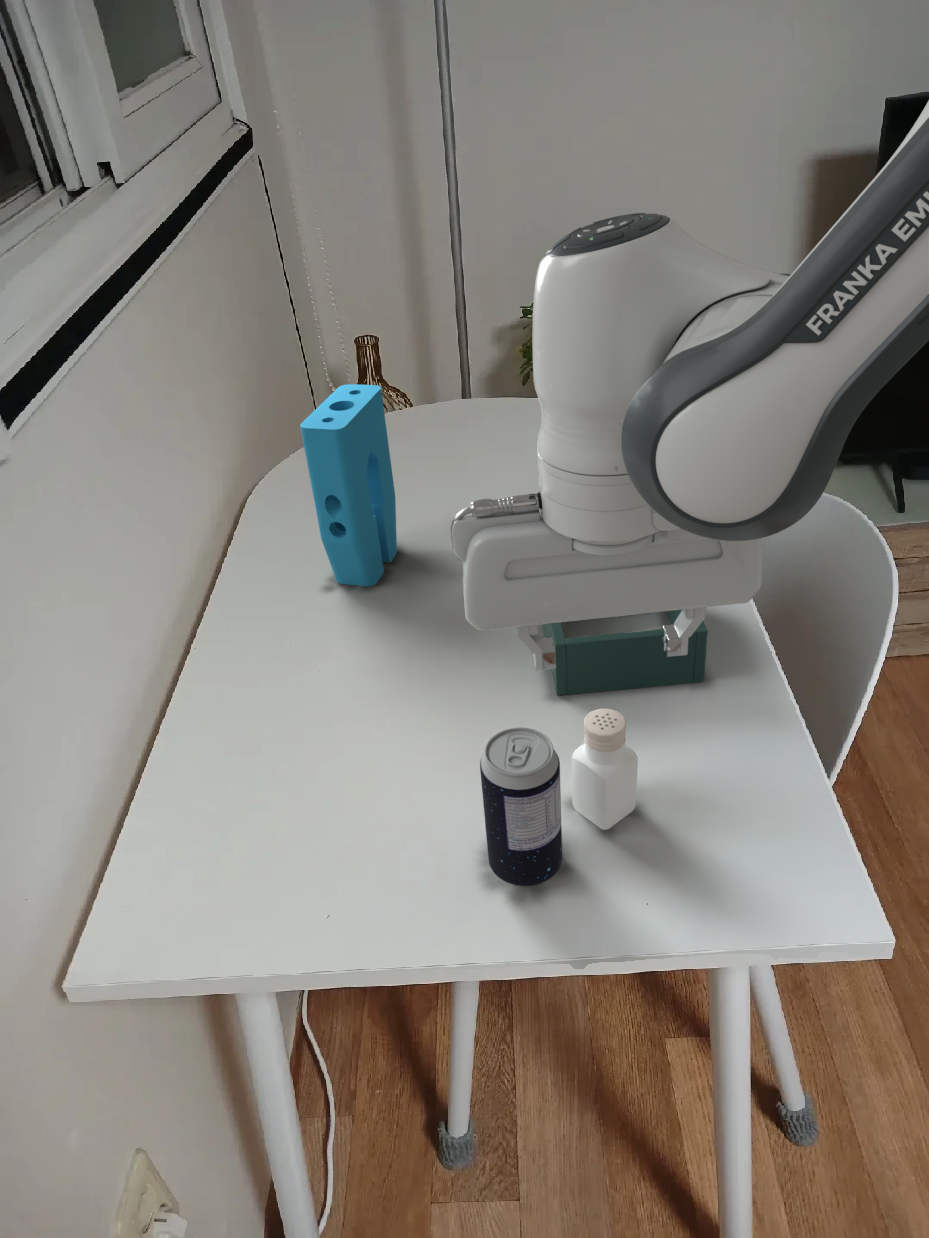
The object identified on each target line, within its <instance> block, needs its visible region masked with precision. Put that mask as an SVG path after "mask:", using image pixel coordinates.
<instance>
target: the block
mask: <svg viewBox="0 0 929 1238" xmlns="http://www.w3.org/2000/svg"><path fill="white" fill-rule="evenodd" d="M382 392H383V391H382V387H381V386H380V385H377V384H356V383H348V384H342V385H340V386H338V387H337V388H336V389H335V390H334V391H333V392H332V393H331V394H330V395H329V396H328V397H327V398H326V399H324V401H322V403H321V404H319V406H317V407H316V409H314V410H313V411H312V412H311V413H310V414H309V415H308V416H307V417H306V418H305V419H304V420H303V421H302V422H301V423H300V425H299V427H300V432H301V437H302V438H301V439H302V443H303V449H304V455H305V459H306V464H307V470H308V475H309V480H310V481H309V482H310V486H311V491H312V496H313V503H314V507H315V512H316V518H317V523H318V528H319V535H320V540H321V542H322V545H323V548H324V551H325V553H326V556H327V558H328V561H329V564H330V567H331V569H332V572H333V575H334V578H335V580H336V582H337V583H338V584H341V585H348V586H357V587H373V586H375V585H377V583H379V580H380V579H381V578H382V576H383V575H384V572H385V570H384V563H391V562H392V561H393V559H394V558H395V556H396V555H397V552H398V551H397V550H398V548H397V547H398V546H397V508H396V507H397V506H396V504H397V503H396V491H395V482H394V475H393V468H392V461H391V460H392V459H391V453H390V447H389V437H388V431H387V424H386V414H385V409H384V399H383V393H382Z"/></svg>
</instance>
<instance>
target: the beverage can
mask: <svg viewBox="0 0 929 1238" xmlns="http://www.w3.org/2000/svg"><path fill="white" fill-rule="evenodd" d="M479 769H480V771H479V772H480V780H481V782H480V783H481V791H482V804H483V815H484V824H485V835H486V846H487V856H488V857H487V859H488V864H489V868H490V869H491V871H492V872H493V873H494V875H495V876H496V877H497V878H499V879H500V880H502V881H503V882H505V883H508V884H510V885H514V886H518V887H519V886H520V887H531V886H536V885H540V884H543V883H545V882H547V881H549V880H550V879H551V878H553V877H554V876H555V875H556V874H557V872H558V871H559V869H560V868H561V865H562V863H563V835H562V834H563V832H562V831H563V830H562V829H563V828H562V799H561V792H562V791H561V763H560V758H559V755H558V753H557V751H556V750H555V748H554V744H553V742H552V741H551V739H550V738H549V737H548V736H547V735H546V734H545V733H543V732H541V731H539V730H537V729H534V728H528V727H510V728H506V729H503V730H501V731H498V732H497V733H495V734H494V735H493V736H492V737H490V738H489V740H488V741H487V743H486V744H485V747H484V753H483V754H482V756H481V759H480V761H479Z"/></svg>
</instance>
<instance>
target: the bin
mask: <svg viewBox="0 0 929 1238" xmlns="http://www.w3.org/2000/svg"><path fill="white" fill-rule="evenodd" d="M681 611H682V610H673V611H664V613H665V615H666V618H667V620H668V624H669V625H672V624H674V622H675V621H676V619H677V618H678V616H679V615H680V613H681ZM541 625H542V630H543V634H544V635H543V636H544V638H550V637H552V638H553V643H554V647H555V654H556V659H555V661H556V669H550V671H551V674H552V679H553V685H554V689H555V695H556V696H558V697H559V696H567V695H576V694H588V693H598V692H609V691H610V692H611V691H621V690H631V689H642V688H651V687H663V686H664V687H665V686H676V685H686V684H699V683H700V684H701V683H704V681H705V669H706V660H707V647H708V635H709V630H708V628H707V625H706V624H705V620H703V621H702V623H701V624H700V625H699V627H698V628H697V629H696V630H695V632H694V633H693V634H692V636H691V637H688V654H687V655H683V656H671V657H666V654H665V651H664V649H663V644H662V638H663V637H664V636H663V633H662V630H663V628H660V629H648V630H639V631H627V632H617V633H605V634H597V635H596V634H595V635H593V634H592V635H584V636H575V637H574V636H573V637H565V634H564V629H563V623H562V622H559V623H550V624H541Z"/></svg>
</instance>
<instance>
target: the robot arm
mask: <svg viewBox="0 0 929 1238" xmlns="http://www.w3.org/2000/svg"><path fill="white" fill-rule="evenodd" d="M531 331H532V332H531V333H532V335H531V336H532V337H531V338H532V339H531V343H532V347H531V348H532V376H533V387H534V390H535V392H536V395H537V398H538V401H539V405H540V409H541V422H540V427H539V431H538V435H537V443H536V449H537V450H536V451H537V452H536V453H537V468H538V469H537V470H538V488H539V491H538V492H536V493H528V494H518V495H513V496H508V497H503V498H497V499H491V498H481V499H477V500H473V501H471V502H470V506H467V507H465V508H463V509H462V510H460V511H459V512H458V513H456V515H455V516H454V517H453V519H452V521H451V524H450V536H451V537H450V538H451V548H452V550H453V553H454V554H455V556H456V557H457V558H458V559H459V560H460V561H462V590H463V591H462V592H463V607H464V617H465V620H466V621H467V622H468V623H469V624H470V625H471V626H472V627H473V628H475V629H476V630H478V631H491V630H500V629H501V630H502V629H510V628H516V629H517V630H516V631H517V635H518V638H519V640H521V642H522V643H523V644H524V645H525V646H526V647H527V648H528V649H529V651H530V652H531V653H532V654H533V661H534V668H535V671H536V672H537V671H549V670H551V669H556V661H555V659H556V654H555V647H554V643H553V638H552V637H550V638H545V637H542V636H541V635H540V634H539V628H538V627H539V626H538V625H540V626H541V625H542V624H550V623H559V622H561V623H567V622H569V623H570V622H577V621H586V620H597V619H607V618H615V617H625V616H626V617H627V616H632V615H634V616H635V615H644V614H653V613H665V611H673V610H682V611H681V613H680V615H679V616H678V618H677V619H676V621H675V622H674V624H672V625H670V624H665V625H662V629H663V630H662V633H663V636H664V637H663V638H662V644H663V649H664V651H665V654H666V657H671V656H683V655H687V654H688V637H691V636H692V634H693V633H694V632H695V630H696V629H697V628H698V627H699V625H700V624H701V623H702V621H705V619H706V617H707V616H706V615H707V608H710V607H720V606H730V605H741V604H747V603H749V602H750V601H751V600H752V599H753V598H755V596H756V595H757V594H758V593H759V592H760V590H761V587H762V582H763V546H762V539H764V538H767V537H770V536H773V535H775V534H778V533H781V532H782V531H785V530H787V529H788V528H790V527H792V526H793V525H795V524H796V523H797V522H799V521H800V520H802V519H803V518H804V517H805V516H806V515H807V514H809V512H810V511H811V510H812V509H813V508H814V507H815V505H816V504H817V503H818V501H819V500H820V499H821V497H822V496H823V494H824V493H825V490H826V488H827V486H828V484H829V482H830V480H831V477H832V476H833V473H834V470H835V468H836V466H837V463H838V460H839V457H840V456H841V452H842V450H843V448H844V445H845V443H846V440H847V439H848V436H849V434H850V432H851V430H852V428H853V427H854V425H855V424H856V421H857V420H858V418H859V417H860V416H861V414H862V413H863V411H864V410H865V409H866V407H867V406H868V405H869V404H870V402H871V401H872V400H873V399H874V398H875V397H876V396H877V394H878V393H880V391H881V390H882V389H883V388H884V387H885V386H886V385H887V384H888V383H889V381H891V380H892V378H893V377H895V375H896V374H897V373H898V372H899V371H900V370H901V369H902V368H903V367H904V366H905V365H906V364H907V363H908V362H909V361H910V360H911V359H912V358H913V357H914V356H915V355H916V354H917V353H918V352H919V351H920V350H921V349H922V348H923V347H925V345H926V344H927V343H928V342H929V100H927V102H926V105H925V106H924V108H923V110H922V111H921V113H920V114H919V116H918V118H917V119H916V121H915V122H914V124H913V126H912V127H911V129H910V130H909V132H908V133H907V134H906V136H905V138H904V139H903V141H902V142H901V143H900V145H899V146H898V147H897V149H896V150H895V152H894V153H893V154H892V156H890V158H889V160H888V161H887V162H886V163H885V165H884V166H883V167H882V168H881V169H880V170H879V171H878V173H877V174H876V175H875V177H874V178H873V179H872V180H871V181H870V182H869V183H868V185H867V186H866V187H865V188H864V189H863V191H861V193H860V194H859V195H858V196H857V197H856V198H855V200H854V201H853V202H852V203H851V204H850V206H849V207H847V209H846V210H845V211H844V212H843V214H842V215H841V216H840V217H839V218H838V219H837V220H836V221H835V223H834V224H833V225H832V226H831V227H830V229H828V231H827V232H826V233H825V234H824V236H822V238H821V239H820V240H819V241H818V242H817V244H815V246H814V247H813V248H812V249H811V250H810V251H809V253H808V254H807V255H806V256H805V258H804V259H803V260H802V261H801V262H800V263H799V264H798V265H797V267H796V268H795V269H794V270H793V271H792V273H777V272H774V271H770V270H767V269H763V268H761V267H756V266H753V265H751V264H747V263H745V262H741V261H739V260H736V259H734V258H732V257H729V256H727V255H725V254H723V253H720V252H718V251H717V250H714V249H713V248H710V247H708V246H706V245H705V244H704V243H701V242H699V241H698V240H697V239H696V238H694V237H692V236H691V235H690V234H688V232H686V231H685V230H684V229H683V228H682V227H681V226H680V225H679V224H678V223H677V222H676V221H675V220H674V219H672V218H671V217H669V216H667V215H664V214H658V213H646V212H636V213H628V214H621V215H617V216H616V215H615V216H612V217H608V218H604V219H601V220H597V221H594V222H591V223H589V224H587V225H584V226H581V227H578V228H576V229H574V230H572V231H570V232H569V233H567V234H566V235H565V236H563V237H562V238H560V239H559V240H558V241H556V242H555V243H554V244H553V245H552V246H551V247H550V248H549V249H548V250H547V251H546V253H545V254H544V256H543V257H542V259H540V261H539V264H538V267H537V272H536V276H535V282H534V291H533V304H532V329H531Z"/></svg>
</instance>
